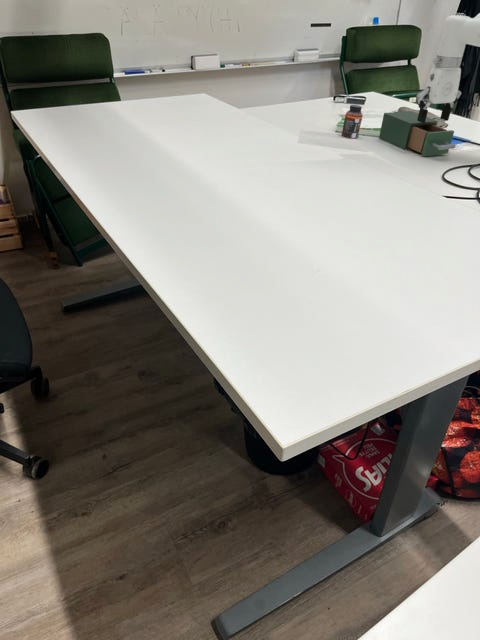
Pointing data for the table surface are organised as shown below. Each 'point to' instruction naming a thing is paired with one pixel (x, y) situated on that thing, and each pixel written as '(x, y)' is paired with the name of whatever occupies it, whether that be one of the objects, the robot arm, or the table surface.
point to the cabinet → (400, 127)
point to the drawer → (430, 140)
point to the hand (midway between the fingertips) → (432, 120)
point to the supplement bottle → (352, 122)
